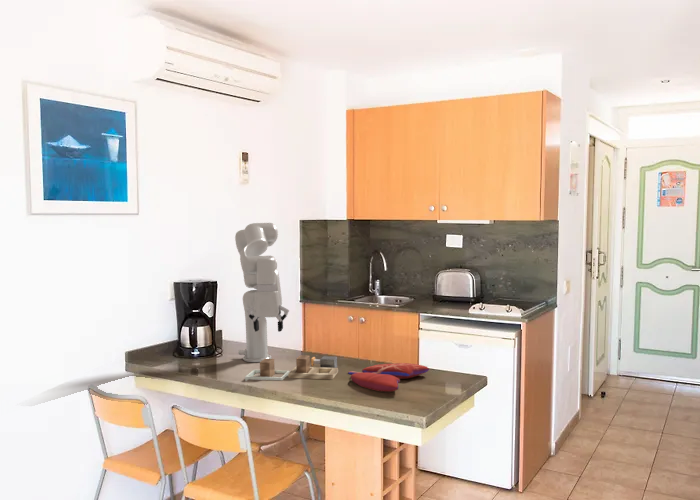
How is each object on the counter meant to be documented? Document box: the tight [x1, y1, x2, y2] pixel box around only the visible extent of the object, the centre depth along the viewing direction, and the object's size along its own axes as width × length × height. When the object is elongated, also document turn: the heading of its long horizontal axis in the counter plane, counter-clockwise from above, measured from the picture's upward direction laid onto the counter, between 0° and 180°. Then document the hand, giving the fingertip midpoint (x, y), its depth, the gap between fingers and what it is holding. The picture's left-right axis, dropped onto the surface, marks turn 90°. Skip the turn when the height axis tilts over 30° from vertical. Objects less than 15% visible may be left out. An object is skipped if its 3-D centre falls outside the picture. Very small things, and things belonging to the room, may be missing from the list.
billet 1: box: [259, 358, 276, 377], centre depth 243 cm, size 4×6×7 cm, turn 169°
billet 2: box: [295, 354, 311, 373], centre depth 244 cm, size 4×6×7 cm, turn 169°
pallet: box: [287, 366, 339, 380], centre depth 244 cm, size 18×11×3 cm, turn 79°
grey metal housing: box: [319, 355, 338, 368], centre depth 253 cm, size 6×5×6 cm
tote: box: [244, 369, 290, 382], centre depth 243 cm, size 15×10×2 cm
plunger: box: [310, 356, 321, 367], centre depth 253 cm, size 5×4×3 cm
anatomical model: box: [347, 362, 430, 392], centre depth 237 cm, size 30×7×30 cm
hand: (268, 330), depth 242 cm, fingers open, 9 cm apart
